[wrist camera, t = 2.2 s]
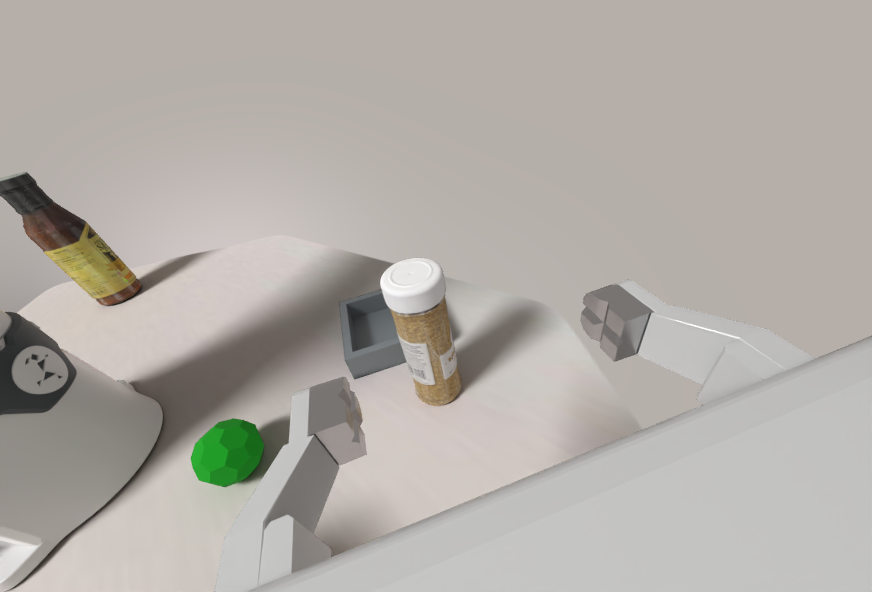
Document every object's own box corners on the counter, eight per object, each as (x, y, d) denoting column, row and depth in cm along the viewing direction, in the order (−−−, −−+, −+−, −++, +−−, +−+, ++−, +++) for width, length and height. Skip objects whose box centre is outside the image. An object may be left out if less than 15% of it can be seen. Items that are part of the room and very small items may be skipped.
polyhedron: (273, 427, 31) (247, 399, 28) (274, 478, 27) (244, 450, 24) (217, 452, 30) (184, 424, 27) (210, 508, 26) (170, 483, 23)
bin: (354, 379, 34) (344, 360, 32) (347, 320, 41) (339, 302, 39) (442, 349, 35) (438, 329, 33) (420, 297, 42) (415, 279, 40)
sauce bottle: (150, 289, 55) (43, 169, 43) (107, 312, 51) (-23, 188, 39) (136, 280, 58) (33, 166, 46) (95, 301, 55) (-29, 184, 42)
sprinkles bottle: (471, 391, 30) (454, 275, 22) (428, 416, 29) (393, 302, 21) (446, 360, 34) (424, 248, 25) (407, 381, 32) (369, 270, 24)
